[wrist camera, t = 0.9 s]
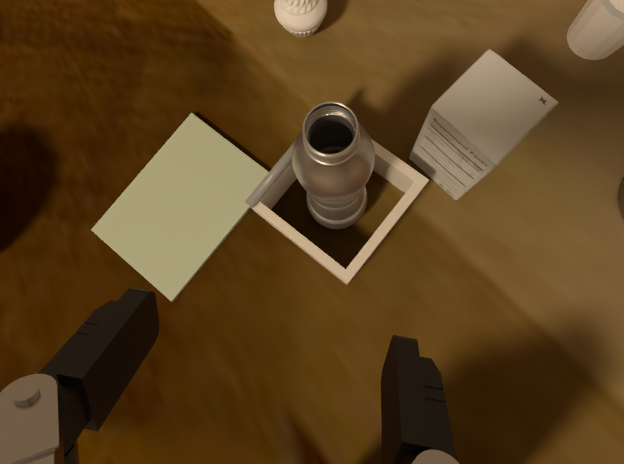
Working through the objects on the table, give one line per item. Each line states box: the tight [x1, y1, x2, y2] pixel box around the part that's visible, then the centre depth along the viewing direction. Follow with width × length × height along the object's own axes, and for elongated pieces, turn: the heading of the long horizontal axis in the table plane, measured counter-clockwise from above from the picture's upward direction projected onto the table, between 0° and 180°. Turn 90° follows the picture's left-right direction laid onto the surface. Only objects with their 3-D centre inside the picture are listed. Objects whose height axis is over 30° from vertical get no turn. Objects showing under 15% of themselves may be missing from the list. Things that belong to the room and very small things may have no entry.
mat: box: [91, 113, 269, 301], centre depth 45 cm, size 18×13×1 cm
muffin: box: [274, 0, 327, 38], centre depth 45 cm, size 6×6×7 cm
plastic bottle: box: [292, 101, 375, 229], centre depth 34 cm, size 6×7×20 cm
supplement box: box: [409, 49, 558, 200], centre depth 38 cm, size 7×7×13 cm
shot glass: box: [567, 0, 624, 60], centre depth 41 cm, size 7×7×7 cm
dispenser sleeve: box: [245, 139, 429, 285], centre depth 41 cm, size 13×13×6 cm
